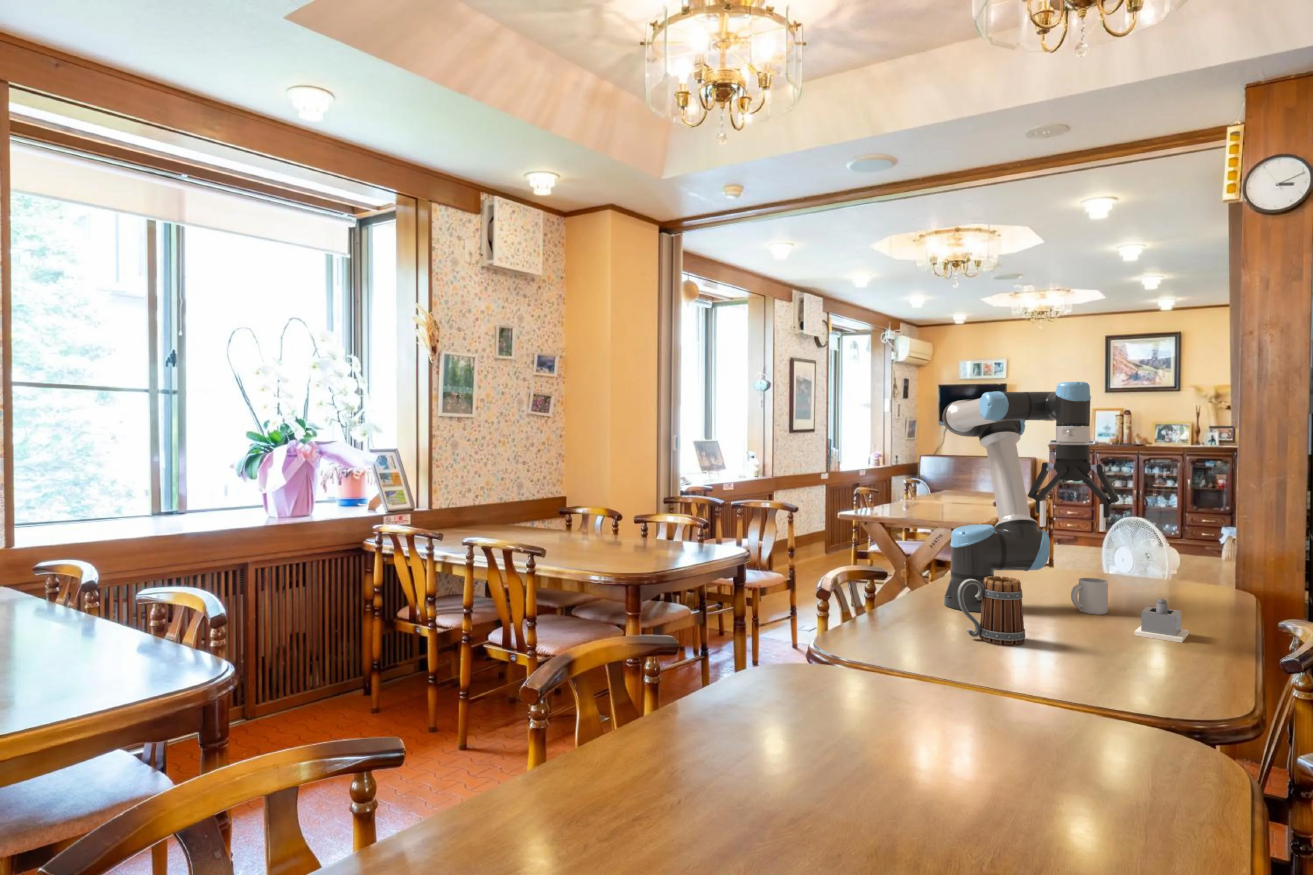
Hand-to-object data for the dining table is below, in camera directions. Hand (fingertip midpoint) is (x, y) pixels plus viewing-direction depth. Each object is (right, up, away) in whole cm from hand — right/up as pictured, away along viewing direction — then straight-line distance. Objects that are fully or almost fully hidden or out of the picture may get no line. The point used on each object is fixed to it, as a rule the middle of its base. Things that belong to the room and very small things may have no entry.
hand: (1071, 528), depth 198 cm
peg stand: (+23, -27, 0) cm, 35 cm away
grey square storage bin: (+23, -26, 0) cm, 34 cm away
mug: (-22, -27, -4) cm, 35 cm away
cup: (+18, -27, +25) cm, 40 cm away
